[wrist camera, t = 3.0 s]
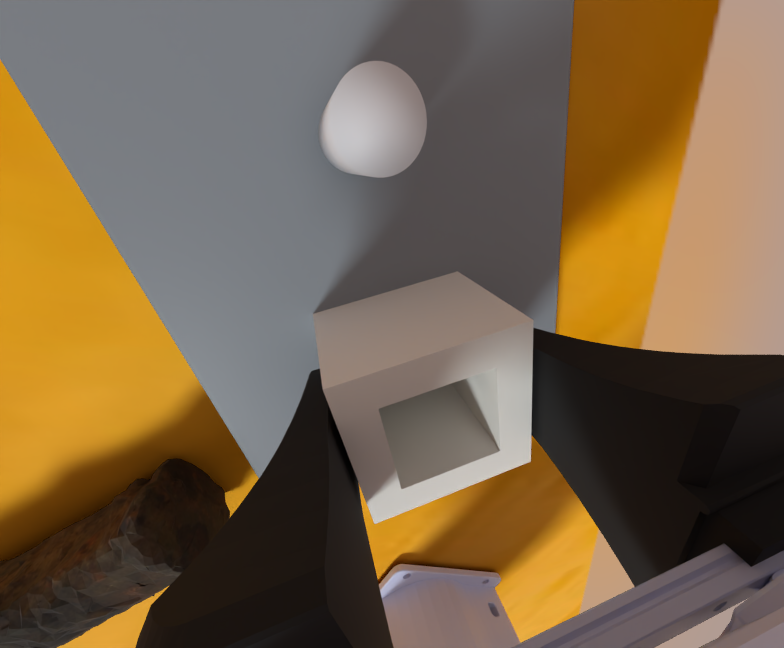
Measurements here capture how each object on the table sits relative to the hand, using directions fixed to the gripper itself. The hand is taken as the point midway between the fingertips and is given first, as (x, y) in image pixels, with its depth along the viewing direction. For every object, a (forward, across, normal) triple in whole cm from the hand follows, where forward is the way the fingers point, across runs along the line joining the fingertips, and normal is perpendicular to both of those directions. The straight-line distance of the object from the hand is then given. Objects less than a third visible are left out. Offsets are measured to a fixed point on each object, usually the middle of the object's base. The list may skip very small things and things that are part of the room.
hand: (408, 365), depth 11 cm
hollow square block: (+1, 0, 0) cm, 1 cm away
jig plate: (+2, 0, -4) cm, 4 cm away
